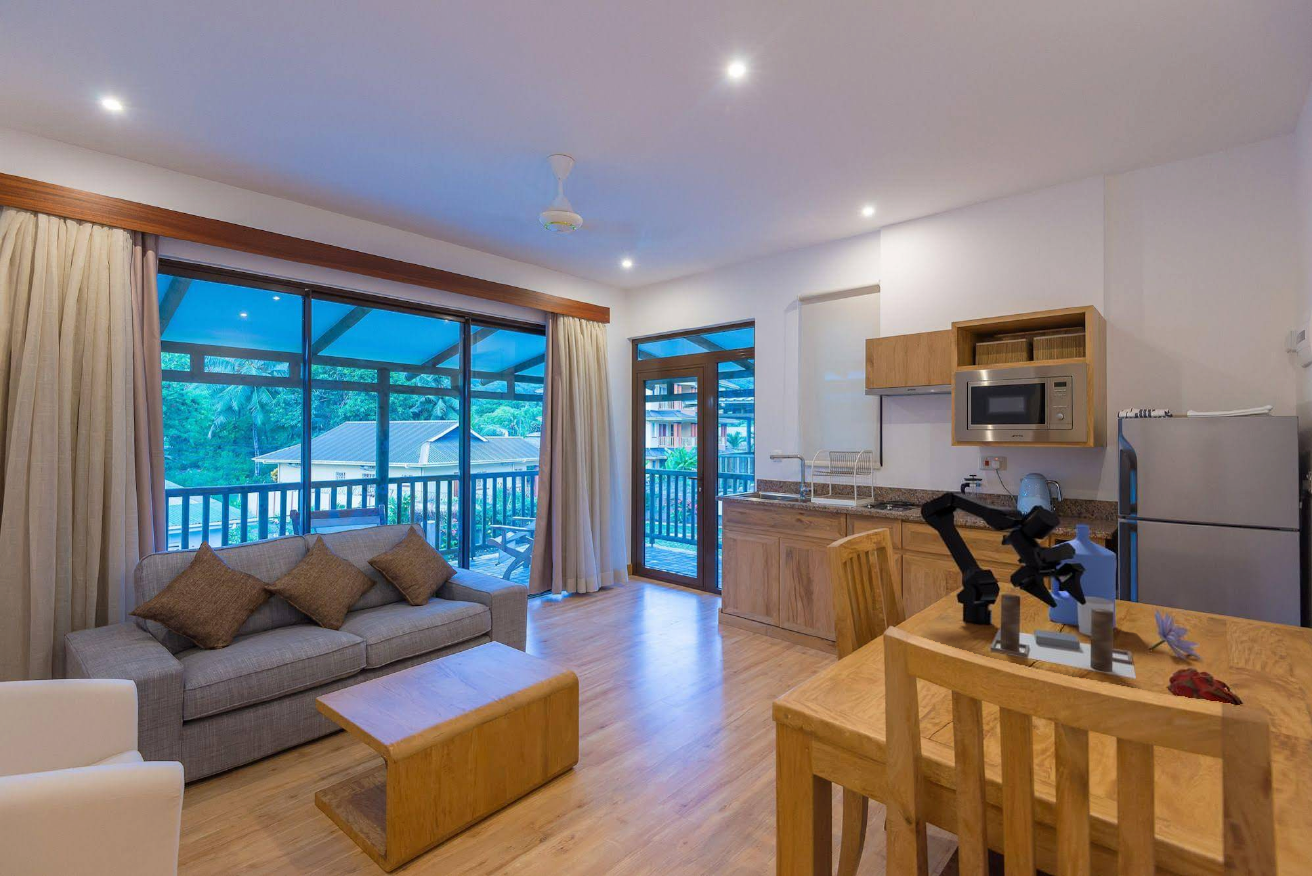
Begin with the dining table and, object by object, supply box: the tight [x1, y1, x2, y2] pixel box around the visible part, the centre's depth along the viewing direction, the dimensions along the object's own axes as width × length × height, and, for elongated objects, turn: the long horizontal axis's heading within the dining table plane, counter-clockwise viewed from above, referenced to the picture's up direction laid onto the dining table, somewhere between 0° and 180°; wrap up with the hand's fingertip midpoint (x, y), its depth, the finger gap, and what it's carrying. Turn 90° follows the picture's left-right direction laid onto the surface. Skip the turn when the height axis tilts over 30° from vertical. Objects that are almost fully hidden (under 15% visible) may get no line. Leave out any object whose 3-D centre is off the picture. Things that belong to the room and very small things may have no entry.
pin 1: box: [1000, 593, 1021, 652], centre depth 148 cm, size 4×4×13 cm
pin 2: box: [1090, 608, 1114, 673], centre depth 136 cm, size 4×4×13 cm
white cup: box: [1077, 596, 1114, 637], centre depth 160 cm, size 8×8×10 cm
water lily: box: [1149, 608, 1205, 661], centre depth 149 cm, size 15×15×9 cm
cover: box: [1033, 628, 1081, 650], centre depth 152 cm, size 9×6×2 cm, turn 62°
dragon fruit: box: [1166, 667, 1244, 707], centre depth 118 cm, size 8×8×12 cm
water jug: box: [1048, 524, 1118, 630], centre depth 172 cm, size 16×16×28 cm
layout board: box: [989, 628, 1137, 680], centre depth 147 cm, size 28×20×2 cm
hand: (1070, 605), depth 143 cm, fingers open, 9 cm apart
